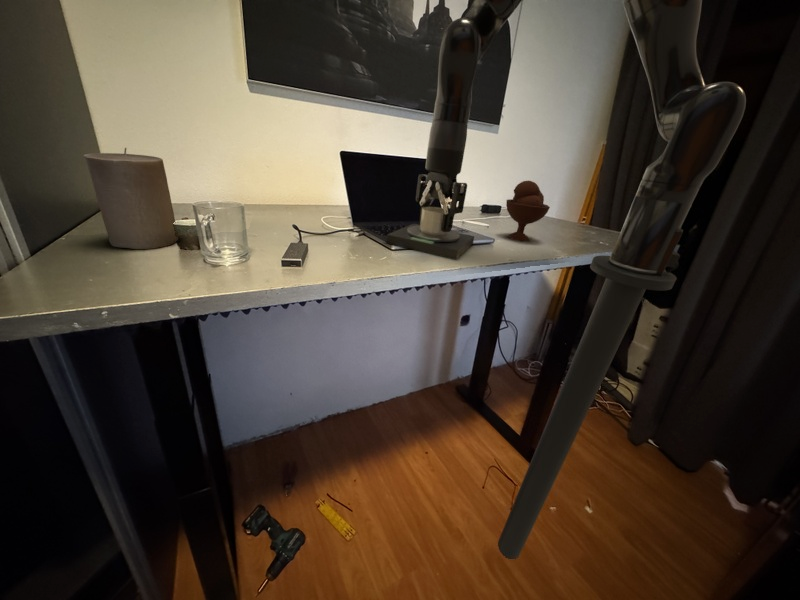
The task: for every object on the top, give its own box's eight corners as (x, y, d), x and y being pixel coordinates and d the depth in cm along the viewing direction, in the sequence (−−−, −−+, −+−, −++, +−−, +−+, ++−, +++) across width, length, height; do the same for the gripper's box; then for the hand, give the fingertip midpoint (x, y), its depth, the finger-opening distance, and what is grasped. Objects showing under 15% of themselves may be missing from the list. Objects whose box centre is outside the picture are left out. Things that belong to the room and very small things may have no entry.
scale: (472, 244, 79) (474, 234, 78) (455, 259, 66) (458, 248, 65) (412, 231, 84) (413, 222, 83) (386, 243, 72) (387, 233, 71)
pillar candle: (170, 231, 63) (153, 147, 57) (185, 245, 57) (168, 152, 51) (105, 237, 57) (77, 142, 50) (114, 253, 51) (84, 148, 44)
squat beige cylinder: (451, 232, 76) (455, 210, 73) (442, 237, 70) (446, 214, 68) (425, 226, 78) (428, 205, 76) (415, 231, 72) (417, 208, 70)
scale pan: (465, 234, 77) (465, 232, 77) (450, 245, 67) (451, 242, 67) (418, 225, 81) (418, 222, 81) (398, 234, 71) (398, 231, 71)
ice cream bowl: (536, 246, 83) (554, 185, 76) (493, 237, 88) (507, 178, 81) (542, 239, 91) (558, 183, 85) (503, 231, 96) (516, 177, 90)
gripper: (484, 151, 63) (468, 234, 70) (438, 146, 74) (428, 219, 81) (455, 148, 59) (441, 236, 66) (411, 143, 70) (403, 220, 77)
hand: (434, 226), depth 73 cm, fingers open, 7 cm apart
